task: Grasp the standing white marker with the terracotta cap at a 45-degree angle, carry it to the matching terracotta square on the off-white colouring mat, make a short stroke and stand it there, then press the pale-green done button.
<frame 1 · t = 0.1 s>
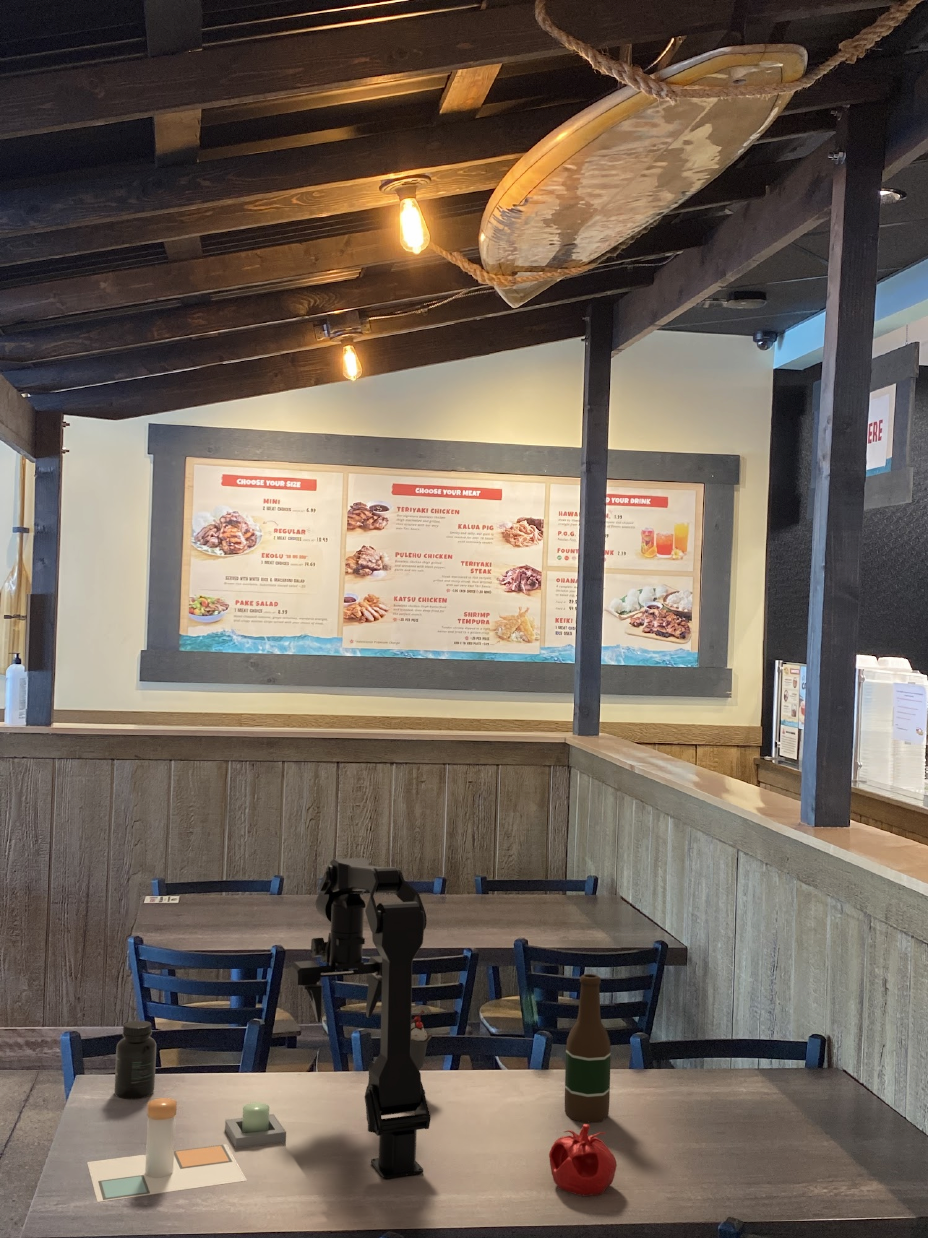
hand: (343, 1019, 205), 15 cm above the table, tool pointing down, fingers open, 9 cm apart
button housing: (254, 1142, 186), on the table
colouring mat: (165, 1178, 172), on the table
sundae: (411, 1093, 211), on the table
pomegranate: (581, 1188, 174), on the table
beer bottle: (586, 1116, 203), on the table
marker: (159, 1172, 172), point 1 cm above the table, touching colouring mat
done button: (255, 1119, 187), point 4 cm above the table, slide at 0.0 cm
supplement bottle: (134, 1094, 206), on the table
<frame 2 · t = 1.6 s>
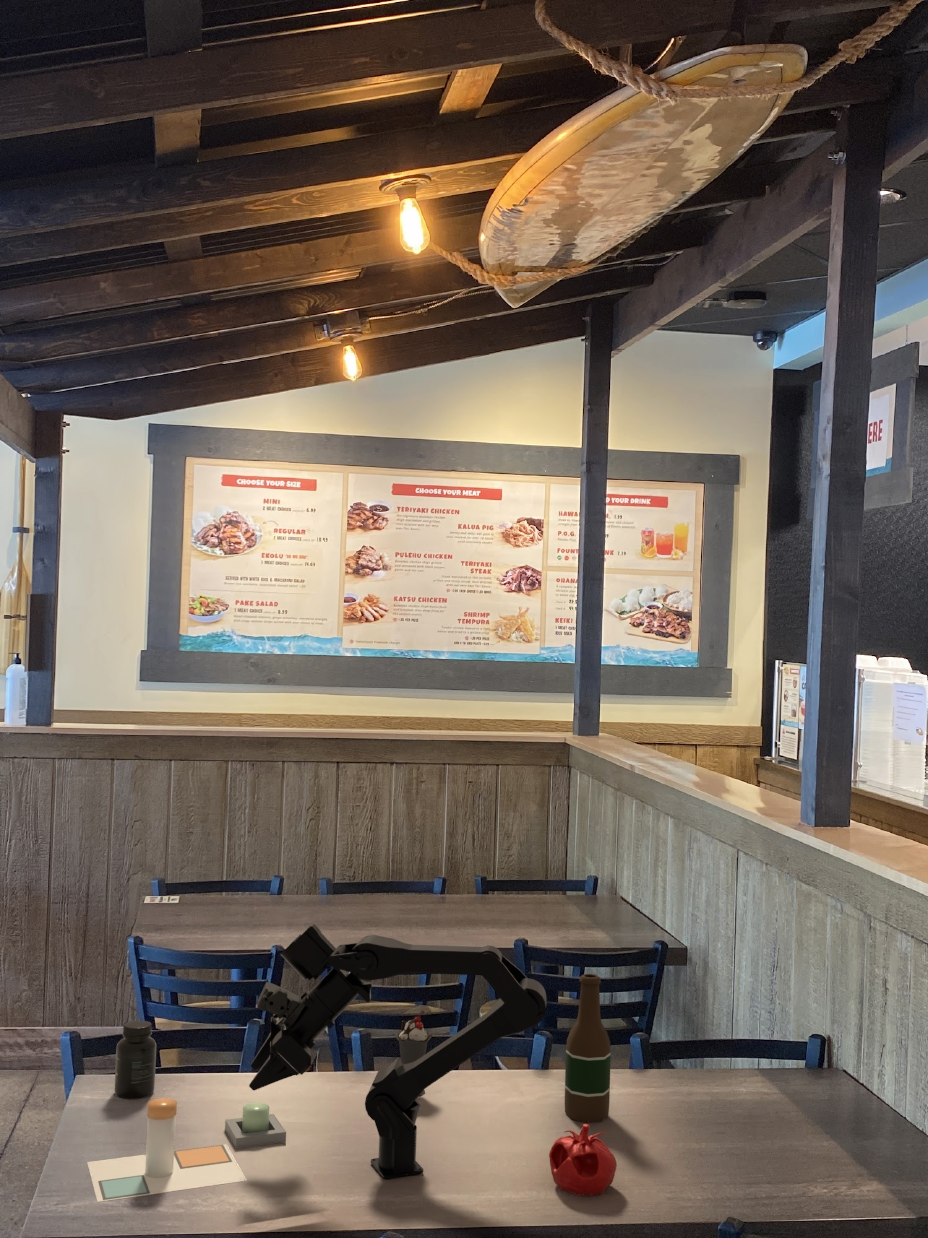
hand: (251, 1078, 177), 13 cm above the table, tool tilted 45°, fingers open, 9 cm apart
nothing on the table moved.
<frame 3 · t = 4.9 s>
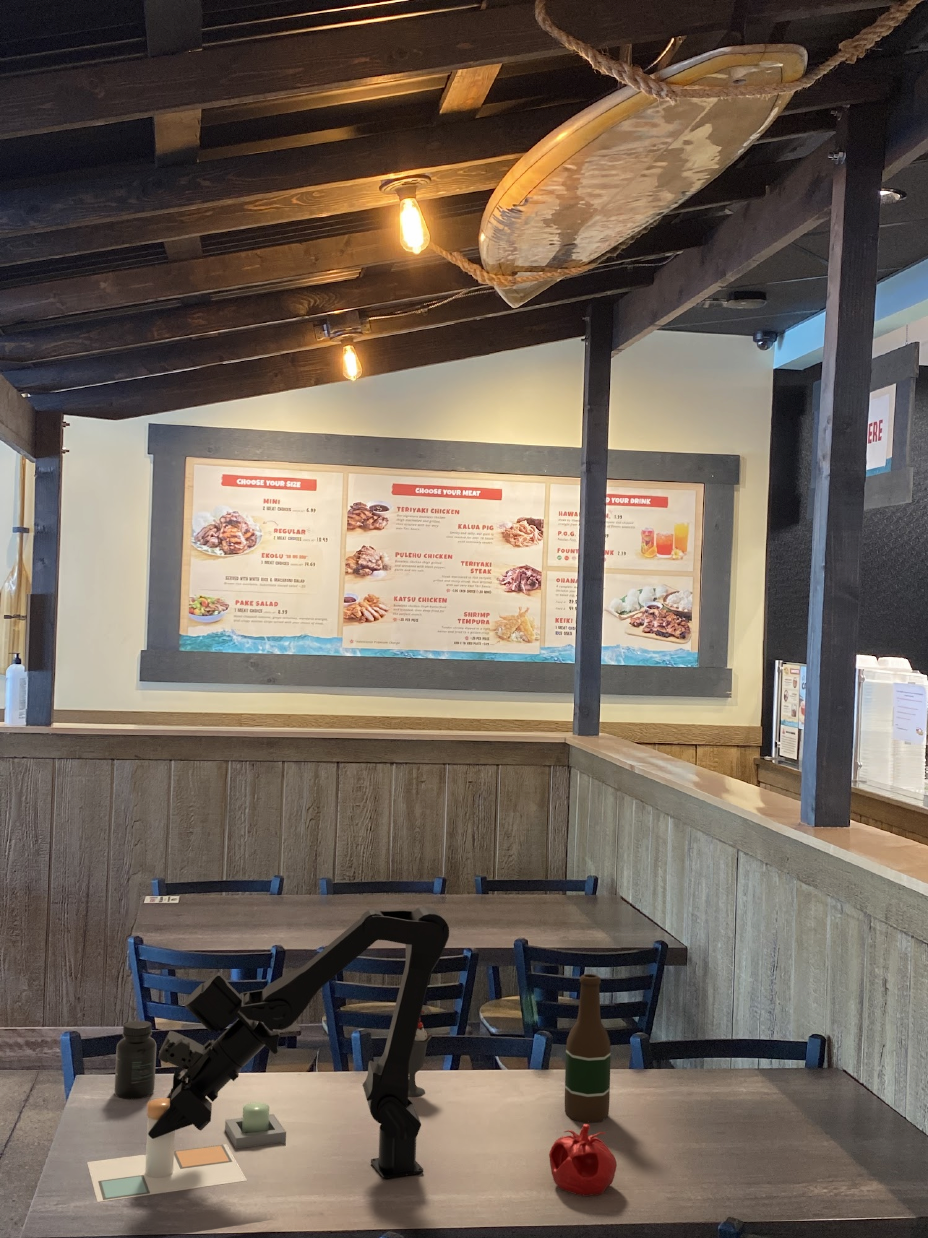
hand: (151, 1130, 172), 7 cm above the table, tool tilted 45°, fingers closed on marker, 4 cm apart
marker: (159, 1172, 172), point 1 cm above the table, touching colouring mat, gripper
everything else where it was.
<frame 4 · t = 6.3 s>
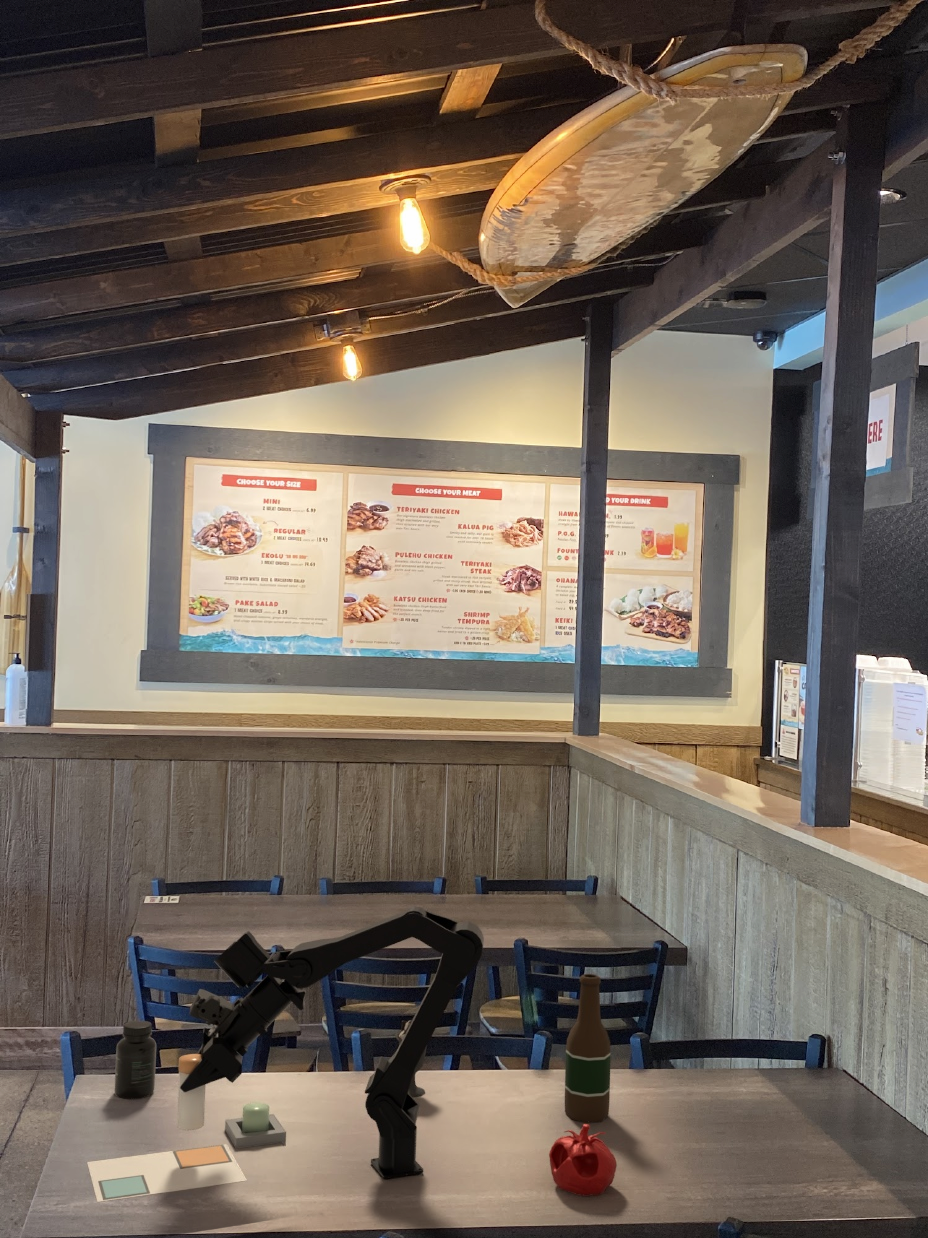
hand: (182, 1085, 177), 12 cm above the table, tool tilted 45°, fingers closed on marker, 4 cm apart
marker: (190, 1125, 177), point 6 cm above the table, touching gripper
everything else where it was.
when the fingers open (8 cm above the table, at t = 7.9 s): marker stays where it is, resting on colouring mat.
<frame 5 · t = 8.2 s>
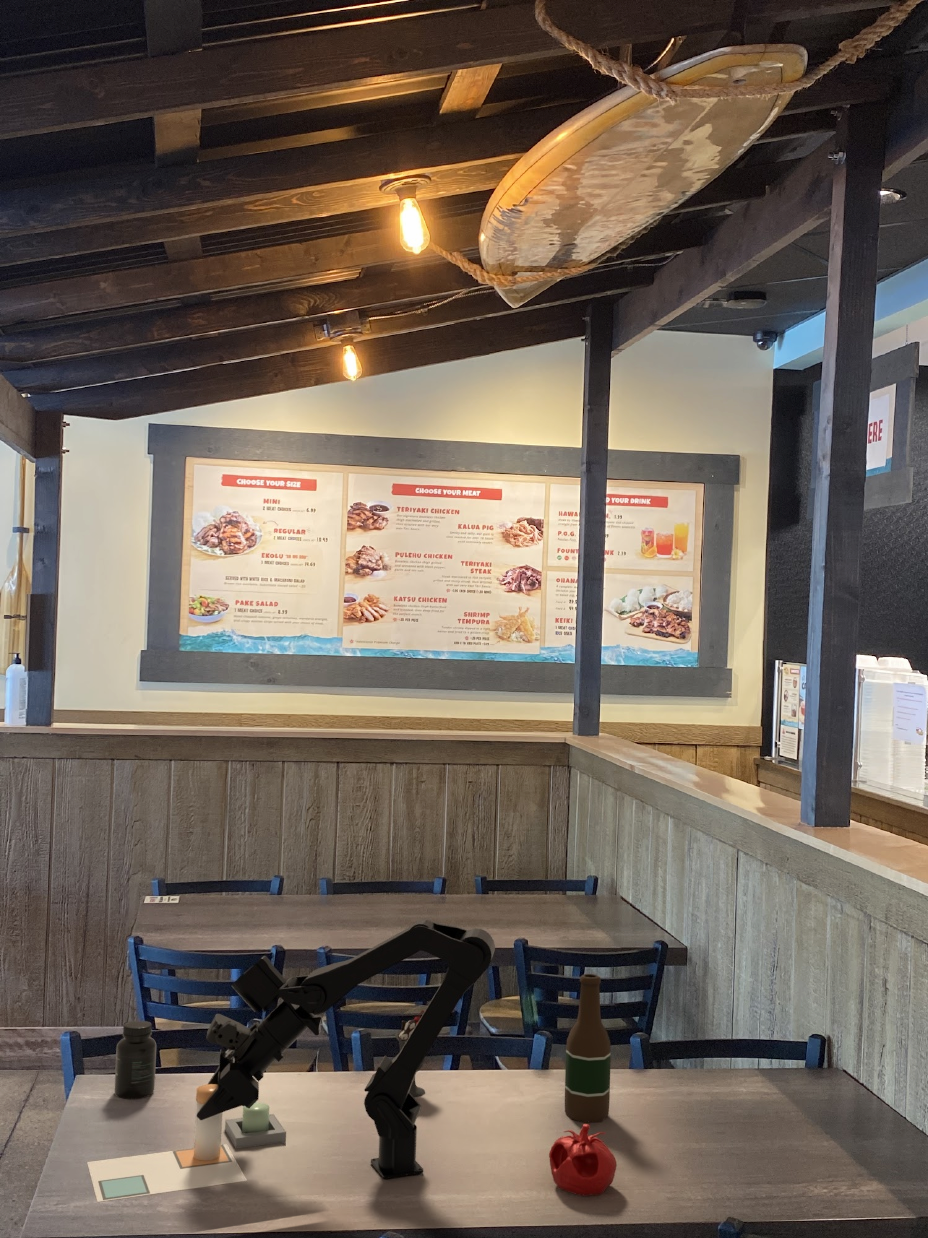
hand: (199, 1109, 178), 8 cm above the table, tool tilted 45°, fingers open, 7 cm apart
marker: (206, 1155, 178), point 1 cm above the table, touching colouring mat
everything else where it was.
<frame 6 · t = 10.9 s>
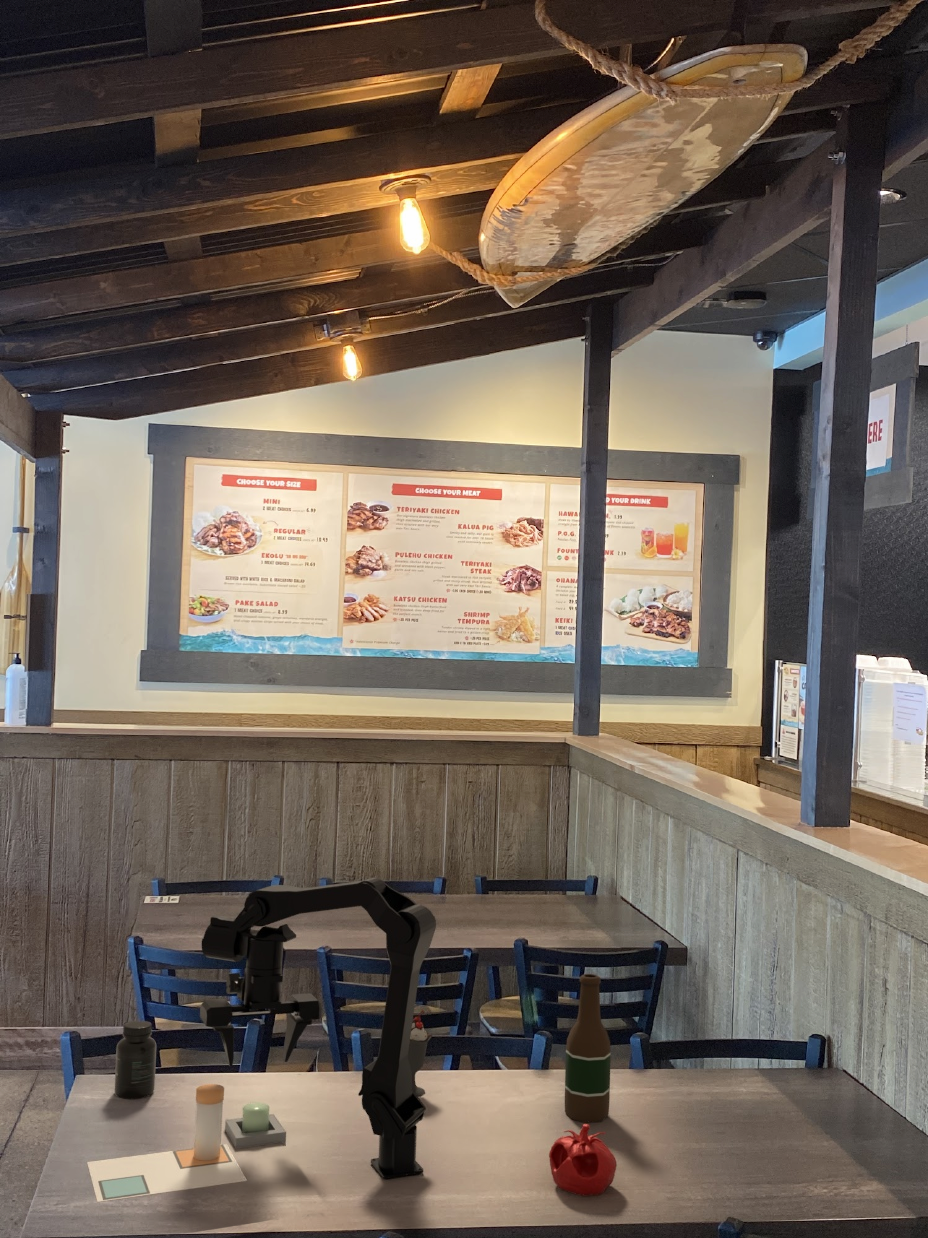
hand: (258, 1063, 187), 12 cm above the table, tool pointing down, fingers open, 9 cm apart
nothing on the table moved.
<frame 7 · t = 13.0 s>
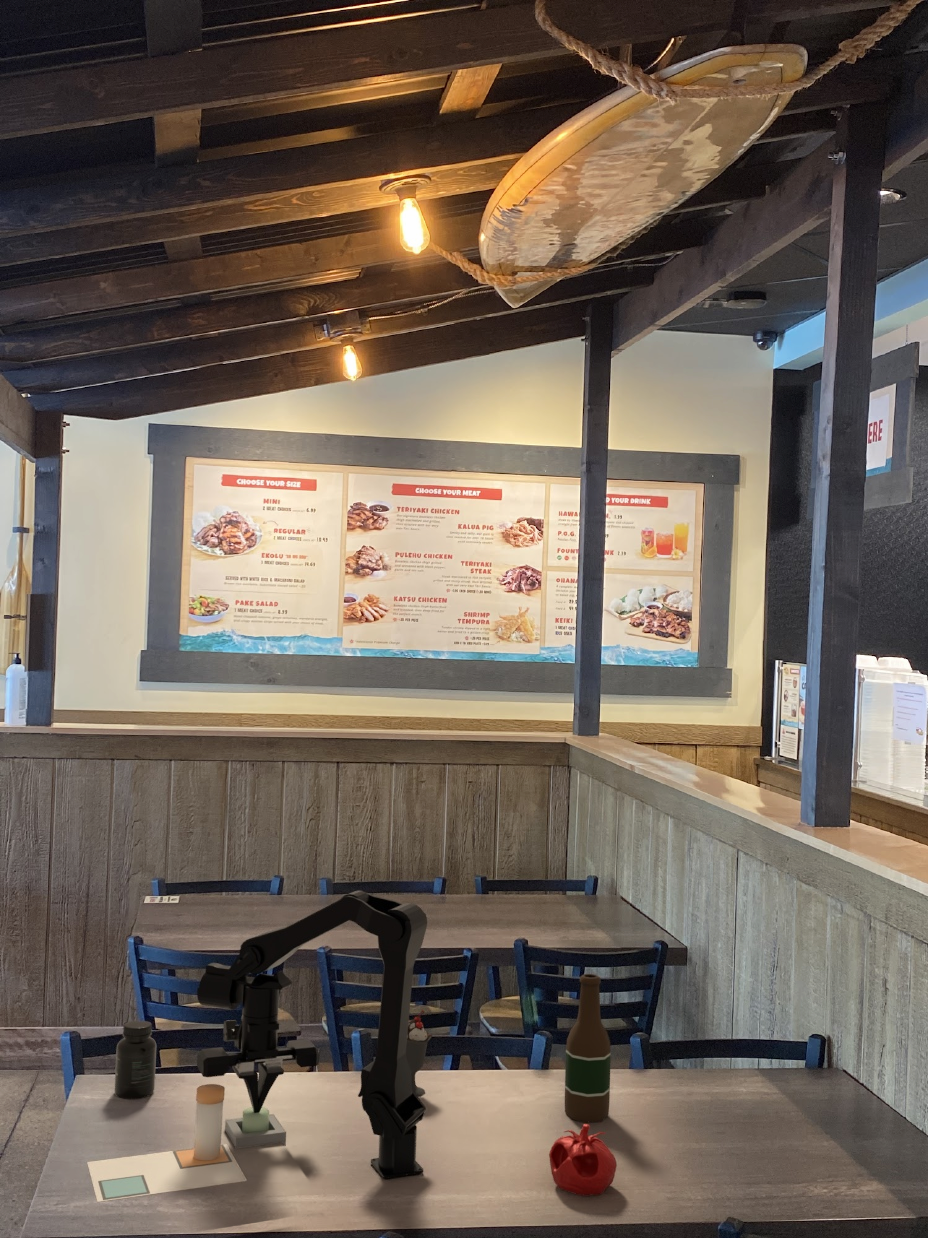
hand: (256, 1112, 187), 5 cm above the table, tool pointing down, fingers closed, pressing on done button
done button: (255, 1123, 187), point 3 cm above the table, slide at 0.7 cm, touching gripper
everything else where it was.
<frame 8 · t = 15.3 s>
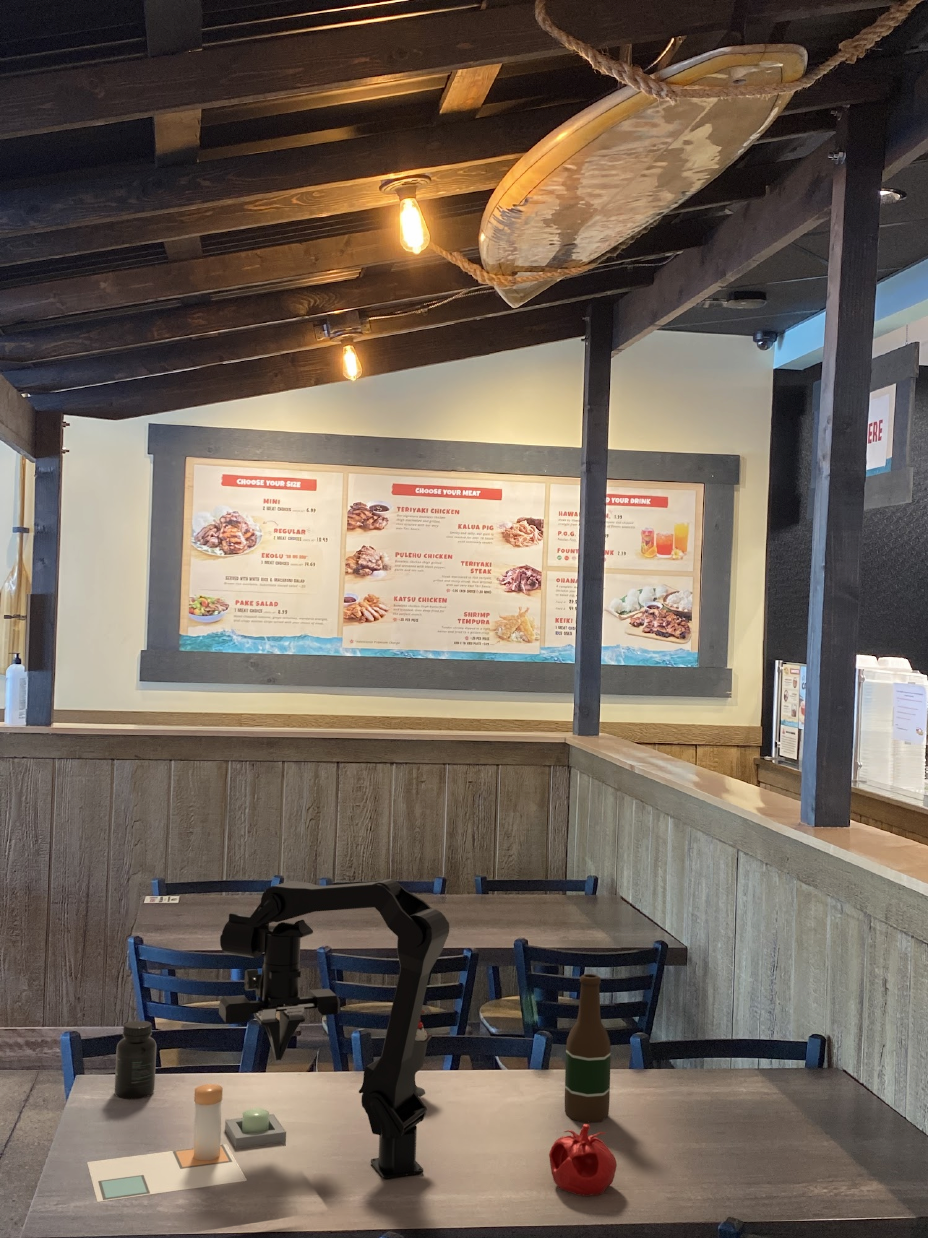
hand: (277, 1059, 187), 13 cm above the table, tool pointing down, fingers closed
done button: (255, 1125, 186), point 3 cm above the table, slide at 0.9 cm
everything else where it was.
at the end: marker inside the target area (0.7 cm from its centre), point 1.1 cm above the table; marker tilted 1°; done button slide at 0.9 cm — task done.
